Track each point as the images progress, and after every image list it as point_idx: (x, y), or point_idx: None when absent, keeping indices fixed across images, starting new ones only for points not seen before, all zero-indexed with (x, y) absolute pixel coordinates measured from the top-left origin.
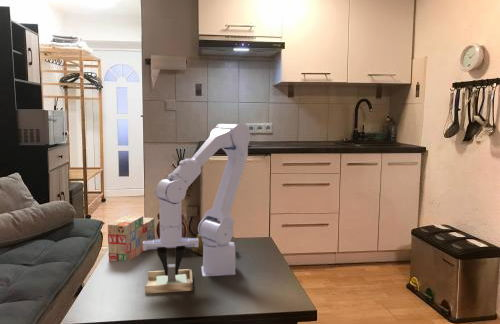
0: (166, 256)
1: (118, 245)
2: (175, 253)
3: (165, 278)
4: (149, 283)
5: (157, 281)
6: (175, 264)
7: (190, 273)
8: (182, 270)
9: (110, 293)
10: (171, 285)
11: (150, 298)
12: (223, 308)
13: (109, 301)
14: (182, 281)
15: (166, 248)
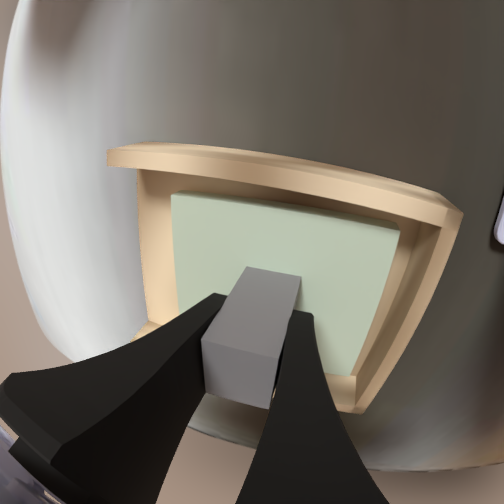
0: (158, 488)
1: None
2: (258, 446)
3: (230, 261)
4: (149, 231)
5: (182, 285)
6: (278, 380)
7: (418, 303)
8: (383, 210)
9: (51, 248)
10: None
11: None
12: (393, 457)
13: (69, 304)
14: (334, 343)
15: (109, 502)
